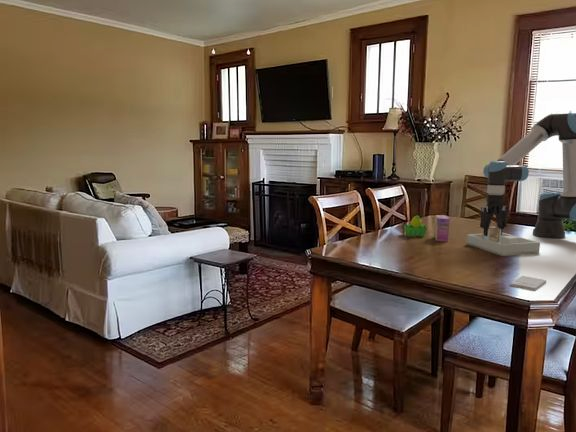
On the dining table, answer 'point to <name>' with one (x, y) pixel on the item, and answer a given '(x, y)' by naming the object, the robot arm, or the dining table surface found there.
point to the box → (441, 228)
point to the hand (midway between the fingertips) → (492, 242)
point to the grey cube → (509, 240)
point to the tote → (503, 245)
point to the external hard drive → (528, 283)
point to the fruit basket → (415, 228)
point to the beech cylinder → (494, 234)
